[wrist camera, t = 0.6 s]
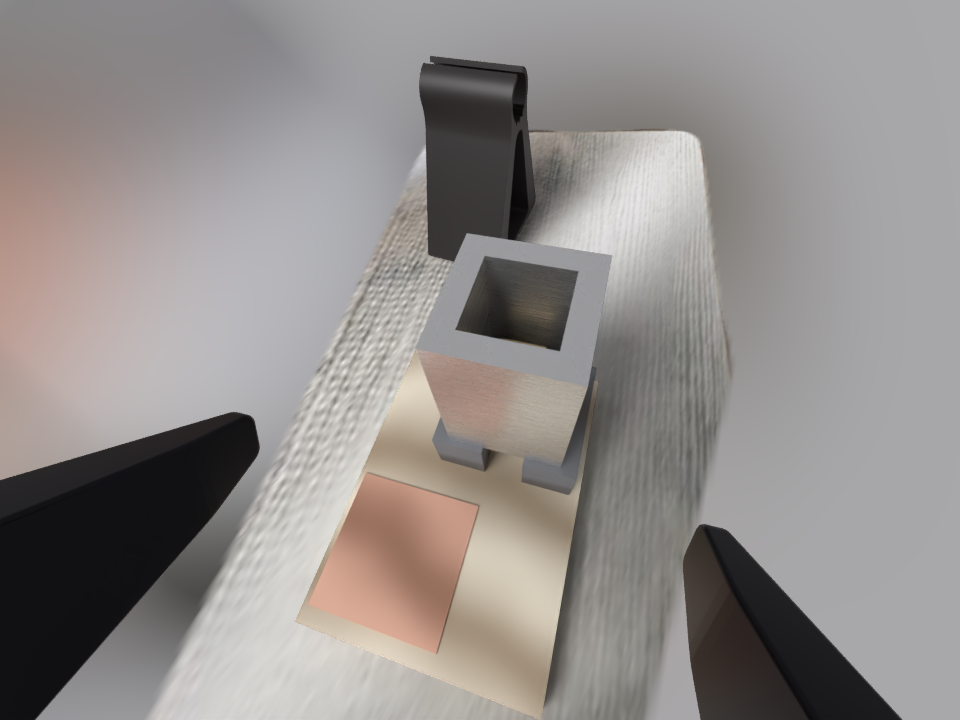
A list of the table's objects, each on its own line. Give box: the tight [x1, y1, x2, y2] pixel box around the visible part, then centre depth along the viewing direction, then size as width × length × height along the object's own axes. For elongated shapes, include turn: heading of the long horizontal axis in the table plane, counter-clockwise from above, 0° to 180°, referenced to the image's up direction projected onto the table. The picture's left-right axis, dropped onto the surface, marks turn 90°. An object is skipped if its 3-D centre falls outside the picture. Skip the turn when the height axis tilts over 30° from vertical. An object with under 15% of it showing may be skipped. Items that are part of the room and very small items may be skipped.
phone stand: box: [419, 56, 536, 261], centre depth 29 cm, size 9×6×12 cm, turn 157°
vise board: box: [295, 338, 599, 720], centre depth 19 cm, size 16×12×8 cm
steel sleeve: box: [415, 233, 612, 468], centre depth 17 cm, size 5×5×8 cm
